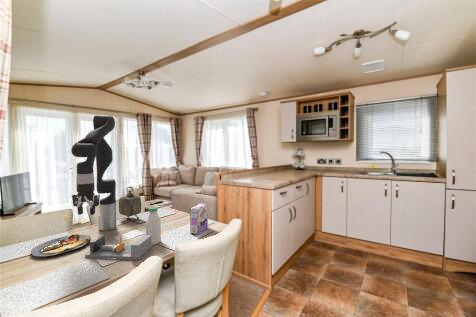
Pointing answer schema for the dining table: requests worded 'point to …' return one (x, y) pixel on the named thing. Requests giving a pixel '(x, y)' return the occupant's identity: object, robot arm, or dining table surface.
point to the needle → (120, 245)
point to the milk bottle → (153, 226)
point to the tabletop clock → (130, 204)
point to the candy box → (198, 218)
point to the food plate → (61, 245)
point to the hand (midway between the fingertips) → (86, 214)
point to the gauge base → (126, 250)
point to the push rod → (101, 245)
